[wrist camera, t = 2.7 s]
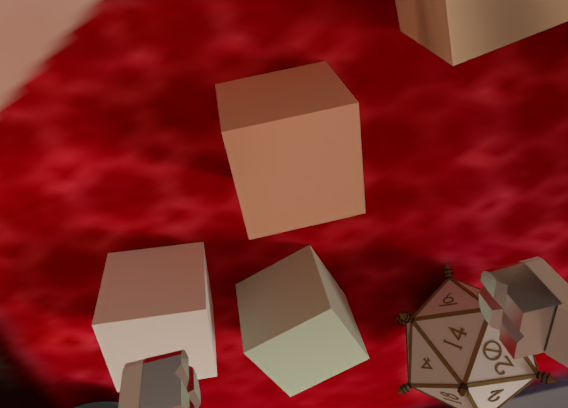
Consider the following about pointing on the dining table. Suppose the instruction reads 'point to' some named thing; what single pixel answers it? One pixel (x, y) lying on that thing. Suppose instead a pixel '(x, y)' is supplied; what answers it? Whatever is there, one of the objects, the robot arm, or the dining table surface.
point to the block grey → (156, 308)
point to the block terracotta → (292, 148)
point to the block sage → (298, 323)
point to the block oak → (475, 24)
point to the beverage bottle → (99, 405)
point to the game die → (461, 352)
